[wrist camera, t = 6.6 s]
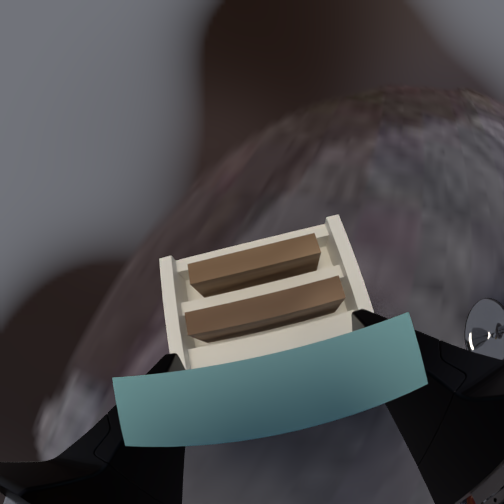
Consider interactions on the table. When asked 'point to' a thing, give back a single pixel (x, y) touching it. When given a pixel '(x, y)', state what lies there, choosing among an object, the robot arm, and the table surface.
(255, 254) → the walnut offcut
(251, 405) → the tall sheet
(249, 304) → the walnut offcut
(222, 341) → the offcut rack
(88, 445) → the robot arm
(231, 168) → the table surface
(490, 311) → the wine glass
